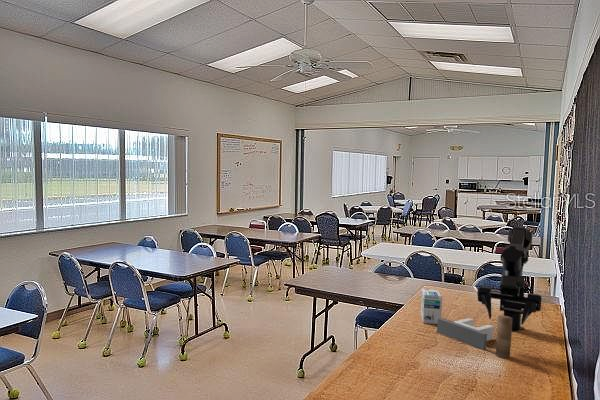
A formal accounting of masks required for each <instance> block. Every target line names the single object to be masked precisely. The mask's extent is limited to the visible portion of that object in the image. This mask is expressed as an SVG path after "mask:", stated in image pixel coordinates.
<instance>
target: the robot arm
mask: <svg viewBox="0 0 600 400" xmlns="http://www.w3.org/2000/svg"><path fill="white" fill-rule="evenodd" d="M507 233H508V234H507V242H508V243H509V244H508V245H505V248H504V250H502V252H501V254H500V261H501V263H502V273H501V275H500V282H499V286H498V287H499V288H498V290H499V292H497V291H496V292H495V291H492V287H490V286H488V287H487V286H482V285H481V286H478V287H477V292H476V293H477V294H476V295H477V301H478V302H479V303H481V304H482V305H484V306H485V308H486V311H487V315H488V319H489V320H491V319H492V299H493V300H494V299H495V300H499V311H500V312H503V316H509V317H511V318H513V320H512V332H519V331H521V330H525V327H524V326H521V325H524V323H525V322H526V321H527V319H528V317H529V316H531V314H533V313H535V314H536V312H541V309H542V300H543V299H542V296H541V295H540V294H536V293H529V292H527V297H526V296H525V291H524V287H525V280H526V276H524V275H523V270H524V265H526V264H527V263H528V262H529V256H528V255H527V254H528V252H529V251H530V248H531V245H533V232H531V231H530V230H528V228H526V227H523V226H522V227H520V226H519V227H518V226H514V227H512V229H510V230H508V232H507Z"/></svg>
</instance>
